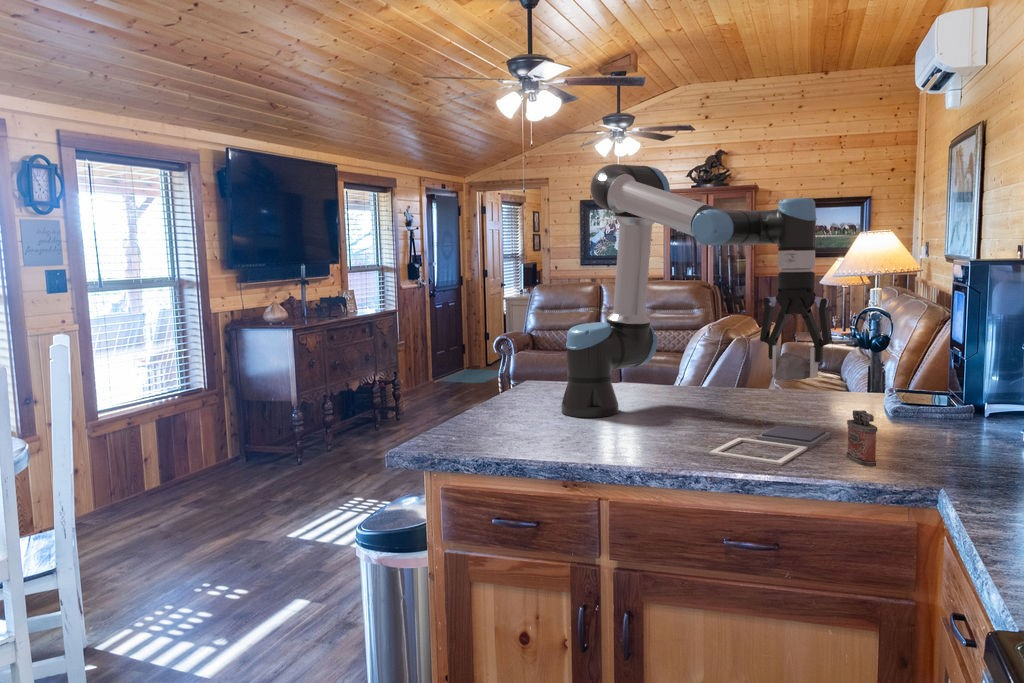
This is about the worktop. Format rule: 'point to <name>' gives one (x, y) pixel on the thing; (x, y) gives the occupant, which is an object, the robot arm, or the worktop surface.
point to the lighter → (862, 439)
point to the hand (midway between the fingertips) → (794, 375)
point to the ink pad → (794, 436)
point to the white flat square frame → (780, 462)
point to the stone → (792, 367)
